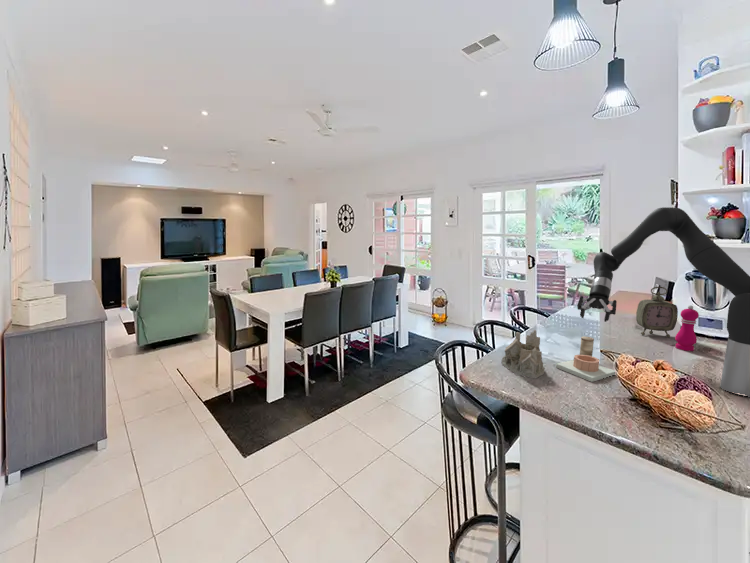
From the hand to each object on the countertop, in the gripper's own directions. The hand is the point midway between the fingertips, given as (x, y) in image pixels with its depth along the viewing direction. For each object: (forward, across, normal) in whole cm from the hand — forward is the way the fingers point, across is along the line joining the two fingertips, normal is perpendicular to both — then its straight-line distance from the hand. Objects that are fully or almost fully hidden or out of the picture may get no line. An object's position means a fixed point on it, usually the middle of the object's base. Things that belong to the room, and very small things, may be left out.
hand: (593, 318), depth 149 cm
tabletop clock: (-25, +20, +46) cm, 57 cm away
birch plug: (+19, 0, +2) cm, 19 cm away
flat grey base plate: (+29, +2, -8) cm, 30 cm away
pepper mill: (-13, +32, +34) cm, 48 cm away
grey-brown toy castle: (+38, -17, -17) cm, 45 cm away
